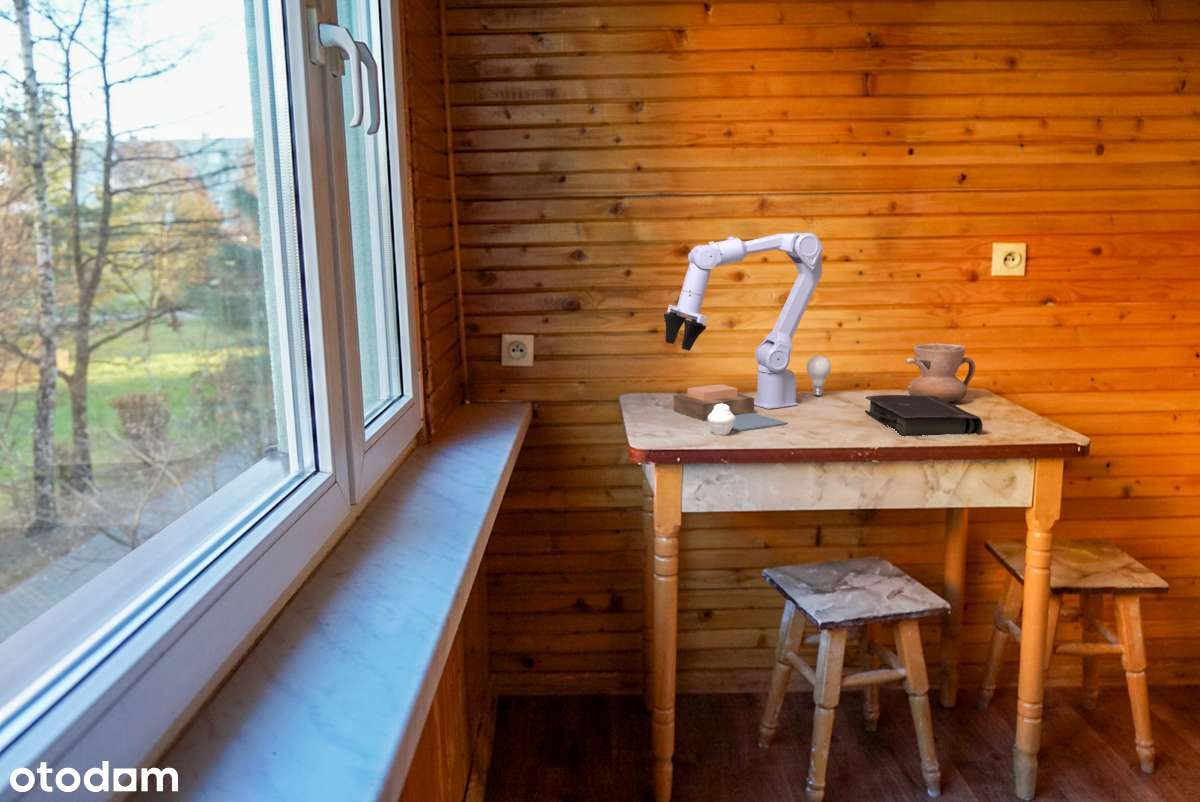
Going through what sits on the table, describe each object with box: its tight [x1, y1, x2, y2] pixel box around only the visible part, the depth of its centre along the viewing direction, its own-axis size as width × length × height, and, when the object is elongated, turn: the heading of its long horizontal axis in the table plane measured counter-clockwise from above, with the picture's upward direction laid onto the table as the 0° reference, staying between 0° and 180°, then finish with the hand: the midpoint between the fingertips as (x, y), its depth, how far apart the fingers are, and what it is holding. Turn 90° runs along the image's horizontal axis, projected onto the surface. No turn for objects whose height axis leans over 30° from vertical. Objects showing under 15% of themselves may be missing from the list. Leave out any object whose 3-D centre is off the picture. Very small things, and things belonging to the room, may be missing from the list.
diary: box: [864, 394, 984, 437], centre depth 216 cm, size 19×25×5 cm
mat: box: [705, 412, 789, 432], centre depth 219 cm, size 14×13×1 cm
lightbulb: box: [806, 354, 832, 397], centre depth 248 cm, size 6×6×11 cm
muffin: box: [707, 403, 735, 436], centre depth 208 cm, size 6×6×7 cm
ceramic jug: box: [905, 343, 976, 403], centre depth 240 cm, size 18×14×14 cm
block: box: [687, 383, 739, 401], centre depth 230 cm, size 10×7×2 cm
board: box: [673, 392, 755, 422], centre depth 231 cm, size 15×13×4 cm
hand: (677, 346), depth 232 cm, fingers open, 7 cm apart
